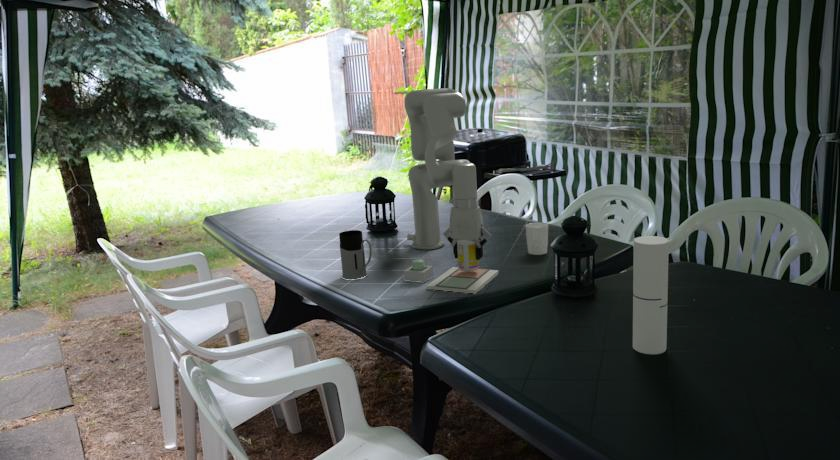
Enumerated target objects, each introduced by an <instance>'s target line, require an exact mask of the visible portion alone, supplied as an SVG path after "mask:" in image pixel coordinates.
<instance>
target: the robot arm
mask: <svg viewBox="0 0 840 460" xmlns="http://www.w3.org/2000/svg"><path fill="white" fill-rule="evenodd" d="M466 102H467V101H466V99H465V97H464V96H463V94H462V93H461V92H459V91H457V90H455V89H453V88H449V87H445V88H441V87H440V88H427V89H417V90H412V91H409V92H408V93H407V94H406V95H405V96H404V108H405V109H404V110H405V112H406V115H407V119H408V121H409V124H410V146H411V154H412V157H413V159H414V160H416V161H419V162H424V163H420V164H416V165H412V166H411V167H410V168H409V170H408V175H407V176H408V181H409V185H410V190H411V196H412V207H413V220H414V234H409V233H408V234H407V236H406V239H407V241H412V243H411V247H412V248H413V249H416V250H422V251H423V250H424V251H427V250H435V249H439V248H443V247H444V246H445V245H446V242H445V240H443V239H441V228H440V226H441V225H440V212H439V211H440V210H439V200H438V197H437V196H436V194H434V193H433V191H432V189H438V188H439V189H440V188H447V187H451V186H452V198H450V199H449V201H448V202H449V204H452V207H451V208H450V212H449V213H450V214H449V227H448V228H447V229H445V231H444V232H443V236H444V237H445V238H446V239H447V241H448V242H449V243H450V244H451V246H452V250H453V256H454V259H458V252H457V239H459V240H474V241H475V243H476V245H477V248H476V259H477V260H479V261H480V259H482V258H483V256H484V249H483V246H484V245H486V243H487V242H488V241H489V240H490V239H491V238H492V233H491V232H489V231H488V230H487V229H486V228H485V226H484V220H483V219H484V218H483V215H482V214H483V213H482V210H481V207H480V206H479V204H478V203H479V201H478V184H477V183H478V182H477V167H476V165H475V164H474V163H472V162H470V161H469V160H468V159H456V157H455V154H456V153H455V152H456V151H455V143H454V140H455V138H456V136H457V134H458V131H457V127H456V124H455V122H454V119H456V118H457V119H458V118H462V117H464V115H466V113H467V103H466ZM437 160H440V161H437ZM483 236H484V238H483V239H482V237H483Z"/></svg>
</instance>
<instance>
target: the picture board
mask: <svg viewBox="0 0 840 460" xmlns="http://www.w3.org/2000/svg"><path fill="white" fill-rule="evenodd" d="M498 275H499V270H496V269H490V268H481V267H479V268H478V269H477V270H474V271H462V270H460V269H459V267H458V266H452V267H451V268H448V270H446V271H445V272H444V273H442V274H441V275H439V276H438V277H436V278H435V279H434V280H432V281H431V282H430V283H429V284H427V285H426V289H427V288H428V289H437V290H444V291H443V292H447V291H453V292H452V293H457V292H465V293H464V294H468V293H473V294H472V295H477V294H478V293H479V292H480V291H481V290H482V289H484V287H486V286H487V285H488V284H489V283H490V282H491V281H493V280H494V279H495V278H496V277H497V276H498ZM485 285H486V286H485ZM478 291H479V292H478ZM477 292H478V293H477ZM476 293H477V294H476Z"/></svg>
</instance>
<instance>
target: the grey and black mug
mask: <svg viewBox="0 0 840 460" xmlns="http://www.w3.org/2000/svg"><path fill="white" fill-rule="evenodd" d="M338 237H339V250H340V251H339V252H340V261H341V270H342V276H341V278H342V277H343V278H345V279H357V278H361V277H364V276H366V275H367V274H368V272H367V266H368V265H369V263H370V262H371V259H372V256H373V255H372V253H373V251H372V249H373V248H372V244H371V242H370V240H368V239H363V231H361V230H358V229H357V230H355V229H352V230H345V231H341V232H339V235H338ZM365 241H366V242H367V243H368V248H369V256H368V260H367V262H366V255H365V254H366V253H365V245H364V242H365Z"/></svg>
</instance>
